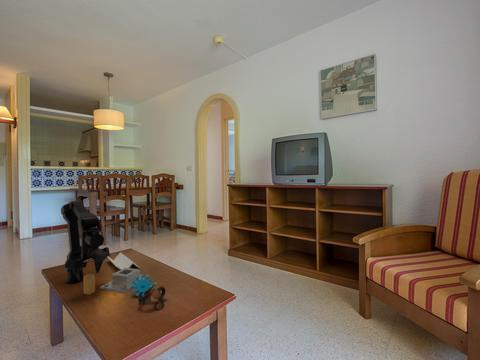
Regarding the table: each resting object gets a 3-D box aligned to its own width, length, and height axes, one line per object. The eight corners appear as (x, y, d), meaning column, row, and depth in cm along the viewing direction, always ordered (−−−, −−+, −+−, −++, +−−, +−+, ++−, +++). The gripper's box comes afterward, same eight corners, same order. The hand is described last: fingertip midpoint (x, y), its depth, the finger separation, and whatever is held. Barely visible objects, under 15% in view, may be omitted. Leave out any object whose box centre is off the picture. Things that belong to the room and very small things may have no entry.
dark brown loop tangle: (155, 316, 94) (143, 298, 93) (141, 319, 98) (130, 302, 98) (174, 294, 104) (164, 278, 104) (161, 299, 109) (151, 283, 108)
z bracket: (120, 265, 157) (127, 257, 159) (133, 278, 138) (140, 268, 141) (105, 255, 151) (113, 247, 154) (116, 266, 132) (124, 257, 135)
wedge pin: (83, 293, 110) (83, 276, 110) (89, 290, 114) (89, 273, 113) (89, 294, 110) (88, 277, 109) (95, 291, 113) (94, 274, 112)
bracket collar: (100, 289, 115) (99, 277, 115) (127, 274, 132) (127, 264, 132) (124, 292, 111) (124, 281, 111) (149, 277, 128) (149, 266, 128)
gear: (130, 297, 104) (131, 274, 110) (128, 302, 107) (129, 280, 114) (157, 294, 109) (156, 273, 116) (154, 299, 113) (153, 278, 119)
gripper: (84, 250, 100) (84, 288, 100) (118, 239, 118) (118, 271, 118) (63, 248, 103) (64, 284, 103) (100, 237, 121) (100, 268, 121)
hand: (89, 276), depth 112 cm, fingers open, 9 cm apart
